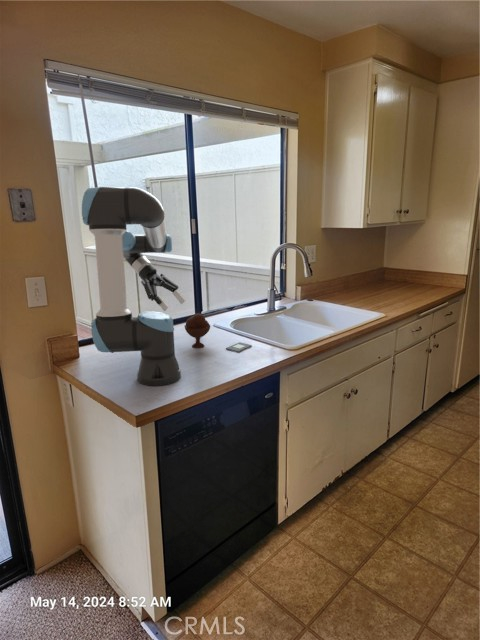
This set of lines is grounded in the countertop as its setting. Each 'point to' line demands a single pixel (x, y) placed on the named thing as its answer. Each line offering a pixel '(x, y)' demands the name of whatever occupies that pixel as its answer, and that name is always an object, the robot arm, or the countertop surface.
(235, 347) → the mat
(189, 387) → the countertop surface
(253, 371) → the countertop surface
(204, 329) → the ice cream bowl
